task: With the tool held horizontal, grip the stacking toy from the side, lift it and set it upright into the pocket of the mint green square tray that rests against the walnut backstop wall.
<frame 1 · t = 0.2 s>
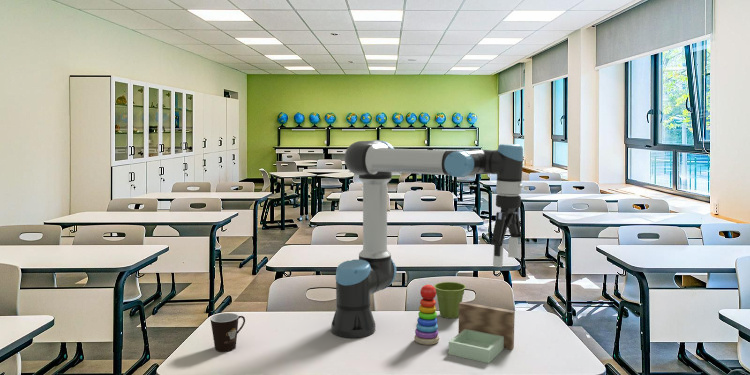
hand: (505, 261, 178), 27 cm above the table, fingers open, 13 cm apart
plant pot: (449, 316, 210), on the table
mint green square tray: (476, 345, 177), point 2 cm above the table, slide at 0.6 cm
backstop wall: (485, 343, 184), on the table
coffee mug: (230, 347, 181), on the table
stacking toy: (426, 341, 185), on the table
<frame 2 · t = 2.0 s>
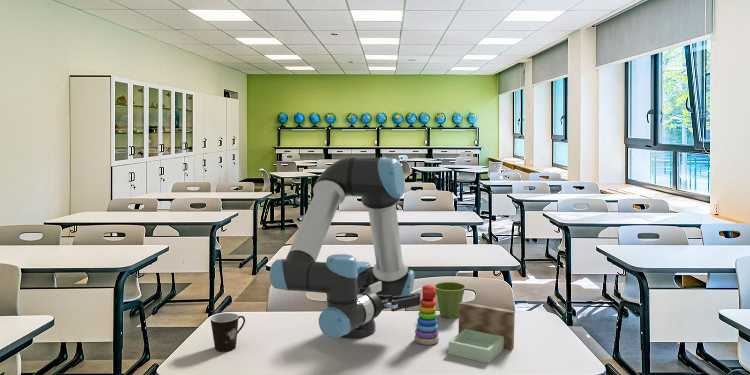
hand: (400, 288, 168), 22 cm above the table, fingers open, 13 cm apart
nothing on the table moved.
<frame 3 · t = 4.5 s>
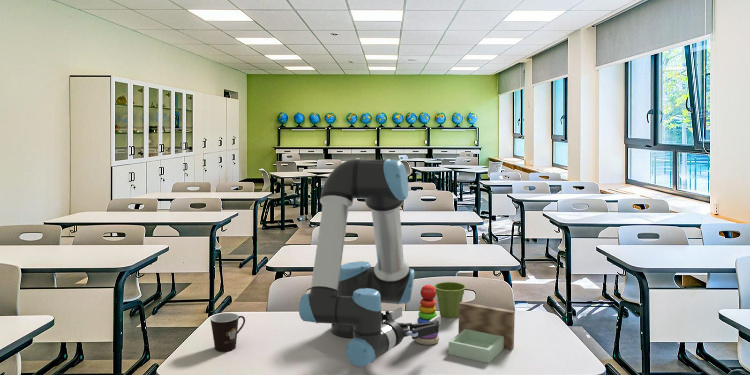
hand: (420, 315, 179), 10 cm above the table, fingers open, 13 cm apart
nothing on the table moved.
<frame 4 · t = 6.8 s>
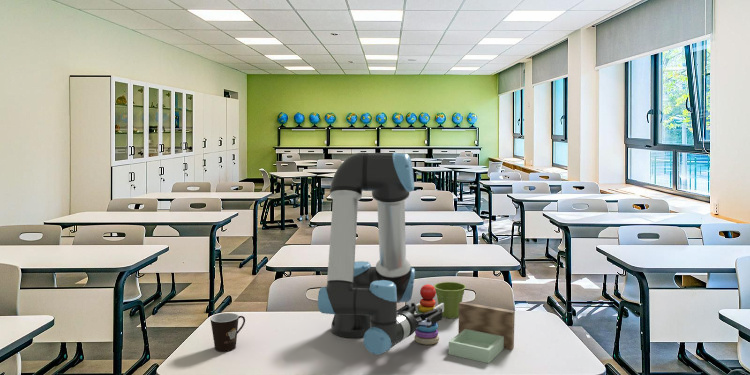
hand: (433, 305, 189), 11 cm above the table, fingers closed on stacking toy, 6 cm apart
stacking toy: (426, 341, 185), on the table, touching gripper
everything else where it was.
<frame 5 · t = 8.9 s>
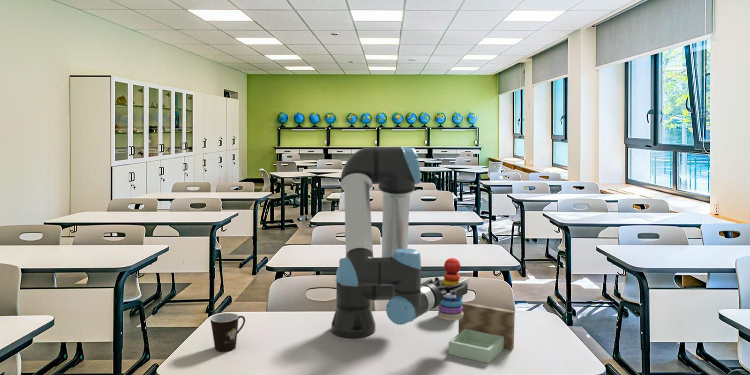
hand: (458, 280, 182), 21 cm above the table, fingers closed on stacking toy, 6 cm apart
stacking toy: (450, 317, 178), point 10 cm above the table, touching gripper
everything else where it was.
when the fingers open (13 cm above the table, at t = 10.9 s): stacking toy drops 2 cm, resting on mint green square tray.
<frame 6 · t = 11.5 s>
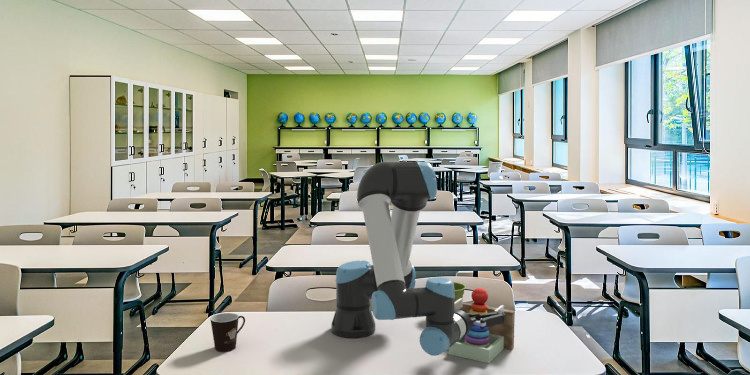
hand: (481, 305, 179), 13 cm above the table, fingers open, 13 cm apart
mint green square tray: (476, 345, 177), point 2 cm above the table, slide at 0.6 cm, touching stacking toy
stacking toy: (476, 347, 177), point 1 cm above the table, touching mint green square tray
everything else where it was.
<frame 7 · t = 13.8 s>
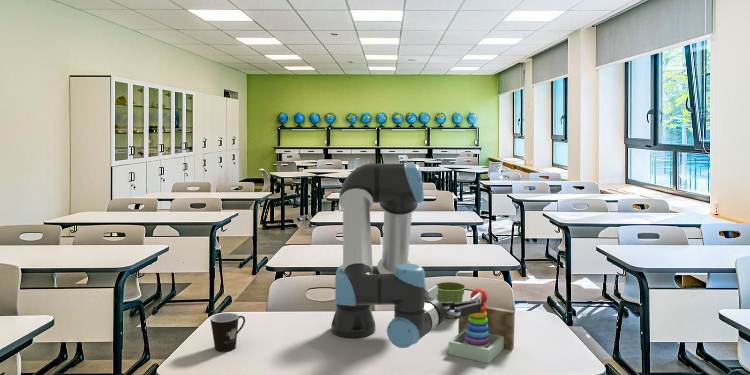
hand: (458, 293, 168), 21 cm above the table, fingers open, 13 cm apart
nothing on the table moved.
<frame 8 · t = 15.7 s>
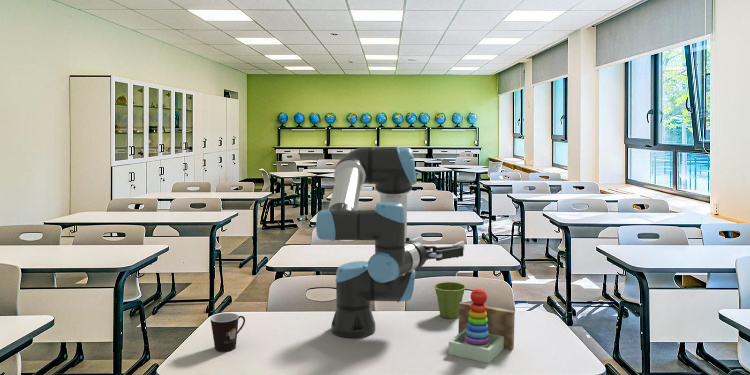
hand: (441, 243, 170), 35 cm above the table, fingers open, 13 cm apart
nothing on the table moved.
at the end: stacking toy 0.5 cm off-centre on the mint green square tray, point 0.8 cm above the mint green square tray's base; stacking toy tilted 0°; mint green square tray slide at 0.6 cm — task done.
